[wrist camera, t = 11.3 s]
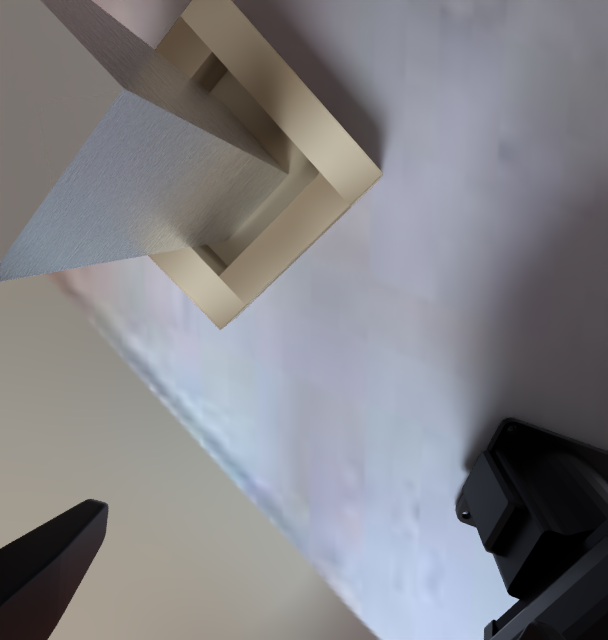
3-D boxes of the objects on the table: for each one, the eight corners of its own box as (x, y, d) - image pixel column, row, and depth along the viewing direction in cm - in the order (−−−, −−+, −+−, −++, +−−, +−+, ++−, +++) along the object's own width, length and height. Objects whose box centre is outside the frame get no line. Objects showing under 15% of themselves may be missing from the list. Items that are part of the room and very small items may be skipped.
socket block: (379, 180, 19) (382, 173, 16) (239, 315, 22) (220, 330, 19) (234, 14, 18) (210, -24, 15) (106, 176, 21) (65, 169, 18)
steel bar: (288, 174, 18) (123, 88, 6) (227, 240, 20) (-16, 284, 7) (222, 102, 18) (-103, -152, 6) (163, 174, 19) (-207, 99, 7)
